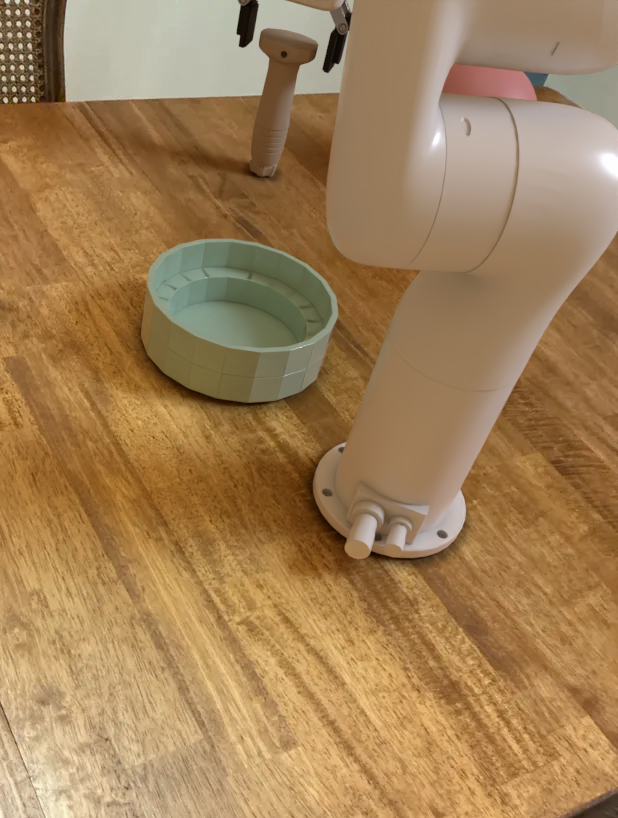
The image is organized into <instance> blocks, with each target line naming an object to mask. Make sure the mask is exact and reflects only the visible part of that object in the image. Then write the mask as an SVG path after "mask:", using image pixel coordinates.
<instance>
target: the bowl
mask: <svg viewBox="0 0 618 818" xmlns="http://www.w3.org/2000/svg"><path fill="white" fill-rule="evenodd" d="M338 307H339V305H338V299H337V296H336V294H335V292H334V290H333V289H332V287H331V285H330V284H329V283H328V281H327V280H326V278H324V277H323V276H322V275H321V274H320V273H318V272H317V271H316V269H314V268H313V267H311V266H310V265H309V264H308V263H306V262H304V261H302V260H300V259H299V258H297V257H295V256H294V255H292V254H290V253H288V252H286V251H283V250H281V249H277V248H275V247H271V246H268V245H266V244H262V243H259V242H254V241H249V240H242V239H237V238H236V239H235V238H200V239H196V240H191V241H188V242H182V243H178V244H177V245H175V246H173V247H170V248H169V249H167V250H165V251H163V252H162V253H160V254H159V255H158V256H157V258H155V260H154V261H153V263H152V264H151V265H150V267H148V272H147V279H146V286H145V296H144V304H143V311H142V320H141V328H140V330H141V331H140V339H141V341H142V344H143V346H144V349H145V352H146V354H147V356H148V358H149V359H150V360H151V361H152V362H153V363H154V364H155V366H156V367H158V369H159V370H160V371H161V372H162V373H163V374H165V375H166V376H168V377H170V379H172V380H174V381H176V382H177V383H178V384H179V385H182V386H183V387H185V388H187V389H189V390H191V391H193V392H194V391H195V392H197V393H200V394H202V395H205V396H209V397H211V398H214V399H218V400H224V401H233V402H240V403H246V404H247V403H248V404H250V403H251V404H252V403H263V402H276V401H278V400H282V399H285V398H288V397H291V396H293V395H297V394H299V393H301V392H303V391H304V390H305V389H307V388H308V387H309V386H310V385H312V383H314V382H315V381H316V380H317V378H318V376H319V374H320V372H321V370H322V367H323V365H324V363H325V361H326V360H325V359H326V356H327V354H328V350H329V347H330V343H331V340H332V337H333V334H334V332H335V328H336V325H337V322H338V318H339V308H338Z"/></svg>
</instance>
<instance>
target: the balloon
mask: <svg viewBox="0 0 618 818" xmlns="http://www.w3.org/2000/svg"><path fill="white" fill-rule="evenodd" d="M525 73H526V72H523V71H514V70H505V69H496V68H487V67H478V66H470V65H460V64H454V65H453V66H452V67H451V69H450V71H449V73H448V76H447V78H446V81H445V83H444V86H443V89H442V92H441V93H451V94H461V95H470V96H480V97H490V96H496V97H505V98H515V99H524V100H533V101H538V97H537V94H536V91H535V88H534V86H533V84H532V82H531V80H530V78H529V77H528V76H527V74H525Z"/></svg>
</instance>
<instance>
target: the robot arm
mask: <svg viewBox="0 0 618 818" xmlns="http://www.w3.org/2000/svg"><path fill="white" fill-rule="evenodd" d="M285 1H286V2H290V3H293V4H297V5H300V6H304V7H307V8H310V9H315V10H318V11H323V12H329V13H330V16H331V18H332V21H333V24H334V29H332V31H331V32H330V34H329V37H328V43H327V47H326V51H325V56H324V60H323V63H322V68H321V69H322V70H321V71H323V73H325V74H329V73H330V72H331V71H332V69H333V68H334V67H335V65H339V64H340V63H341V60H342V58H343V53H344V50H345V55H344V62H343V68H342V75H341V76H342V77H341V81H340V88H339V95H338V101H337V107H336V114H335V121H334V126H333V134H332V140H331V146H330V152H329V153H330V154H329V160H328V166H327V175H326V184H325V185H326V186H325V220H326V227H327V231H328V234H329V237H330V240H331V242H332V244H333V245H334V248H336V250H337V251H338V252H339V253H340V254H341V255H342V256H343V257H344V258H346V259H348V260H350V261H351V262H353V263H355V264H359V265H363V266H368V267H375V268H382V269H397V270H407V271H408V270H410V271H419V272H418V273H417V274H416V276H415V277H413V279H412V281H411V282H410V284H409V285H408V286H407V287H406V290H405V291H404V293H403V294H402V295H401V297H400V299H399V301H398V304H397V306H396V308H395V310H394V313H393V316H392V318H391V320H390V323H389V326H388V328H387V331H386V334H385V337H384V339H383V341H382V345H381V347H380V350H379V353H378V355H377V358H376V361H375V364H374V367H373V369H372V372H371V374H370V377H369V379H368V382H367V385H366V388H365V390H364V392H363V396H362V399H361V401H360V405H359V407H358V410H357V412H356V415H355V418H354V420H353V423H352V426H351V428H350V431H349V434H348V436H347V439H346V441H345V442H342V443H339V444H338V445H335V446H333V447H332V448H331V449H330V450H328V451H327V452H326V453H325V454H324V455H323V456H322V458H321V459H320V460H319V462H318V465H317V467H316V469H315V472H314V476H313V480H312V494H313V497H314V500H315V504H316V506H317V507H318V509H319V511H320V514H321V515H322V516H323V518H324V519H325V520H326V521H327V523H328V524H329V525H330V526H331V527H332V528H333V529H334V530H335V531H336V532H338V533H339V535H341V536H342V537H344V538H345V539H346V541H345V544H344V547H343V548H344V551H345V554H346V555H348V556H349V557H351V558H353V559H356V560H364V559H367V558H369V556H370V554H371V552H374V553H376V554H380V555H382V556H386V557H390V558H395V559H396V558H398V559H399V558H400V559H417V558H424V557H428V556H431V555H434V554H438V553H439V552H441V551H443V550H445V549H446V548H448V547H449V546H451V544H453V542H454V541H455V540H456V539H457V537H458V535H460V532H461V530H462V529H463V527H464V523H465V521H466V515H467V506H466V502H465V497H464V495H463V492H462V490H461V488H462V487H463V485H464V482H465V480H466V478H467V477H468V475H469V472H470V471H471V469H472V468H473V465H474V464H475V462H476V460H477V457H478V456H479V454H480V452H481V451H482V448H483V446H484V444H485V442H486V441H487V439H488V437H489V435H490V433H491V431H492V430H493V428H494V425H495V424H496V422H497V420H498V418H499V416H500V415H501V412H502V410H503V409H504V407H505V405H506V403H507V401H508V399H509V397H510V395H511V394H512V392H513V390H514V388H515V386H516V385H517V382H518V381H519V378H521V376H522V374H523V372H524V369H526V366H527V364H528V362H529V360H530V359H531V357H532V356H533V353H534V351H535V349H536V347H538V344H539V343H540V341H541V340H542V339H541V338H542V337H543V335H544V333H545V332H546V330H547V328H548V327H549V325H550V324H551V322H552V320H553V318H554V317H555V316H556V315H557V313H558V311H559V310H560V308H561V307H562V306H563V304H564V303H565V301H566V300H567V299H568V298H569V296H570V295H571V294H572V292H573V291H574V290H575V288H576V287H577V286H578V285H579V284H580V283H581V281H582V280H583V279H584V278H585V277H586V275H587V274H588V273H589V272H590V271H591V269H592V268H593V267H594V266H595V265H596V263H597V262H598V261H599V259H600V258H601V257H602V256H603V254H604V253H605V251H606V250H607V249H608V247H609V246H610V244H611V243H612V241H613V240H614V238H615V237H616V235H617V233H618V128H616V126H615V125H614V124H612V123H611V122H610V121H608V120H607V119H606V118H604V117H602V116H600V115H599V114H597V113H594V112H593V111H590V110H586V109H584V108H581V107H577V106H574V105H570V104H569V105H568V104H564V103H559V102H550V101H541V100H537V101H533V100H524V99H515V98H505V97H496V96H490V97H480V96H470V95H461V94H451V93H441V92H442V89H443V86H444V83H445V81H446V78H447V76H448V73H449V71H450V69H451V67H452V66H453V65H454V64H460V65H470V66H478V67H487V68H496V69H505V70H514V71H523V72H524V73H534V74H545V75H560V76H582V75H583V76H585V75H592V74H597V73H602V72H605V71H608V70H611V69H612V68H615V67H616V66H618V0H353V3H352V11H351V8H350V6H349V3H348V0H285ZM237 2H238V4H239V5H240V8H239V12H238V19H237V26H236V35H238V36H239V40H238V47H239V48H242V49H244V48H246V47H248V45H250V44H251V43H252V42H253V40H254V35H255V30H256V24H257V19H258V14H259V13H258V12H259V6H260V3H259V0H237ZM346 41H347V43H346ZM345 46H346V49H345Z"/></svg>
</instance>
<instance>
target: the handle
mask: <svg viewBox="0 0 618 818" xmlns="http://www.w3.org/2000/svg"><path fill="white" fill-rule="evenodd" d="M258 47H259V49H260V50H261V52H262V53H263V54H265V55H266V56H267V58H268V66H267V71H266V76H265V80H264V84H263V89H262V92H261V96H260V100H259V104H258V107H257V112H256V114H255V120H254V125H253V130H252V135H251V136H252V137H251V145H250V146H251V147H250V156H251V159H250V160H249V171H250V172H252V173H254V174H256V176H258V177H261V178H264V177H270V178H272V177H273V176H274V175H275V172H276V171H277V168H278V165H279V161H280V159H281V156H282V153H283V151H284V148H285V144H286V140H287V138H288V137H287V136H288V133H289V127H290V121H291V114H292V109H293V108H292V107H293V102H294V97H295V91H296V84H297V80H298V79H297V78H298V74H299V71H300V68H301V66H302V65H306V64H309V63H311V62H313V61H314V60H315V58H316V56H317V53H318V52H317V51H318V47H319V43H318V41H317V40H315V39H313V38H311V37H309V36H307V35H305V34H303V33H299V32H294V31H292V30H291V31H290V30H286V29H283V28H273V27H267V28H263V29H262V30H261V31H260V34H259V39H258Z"/></svg>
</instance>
